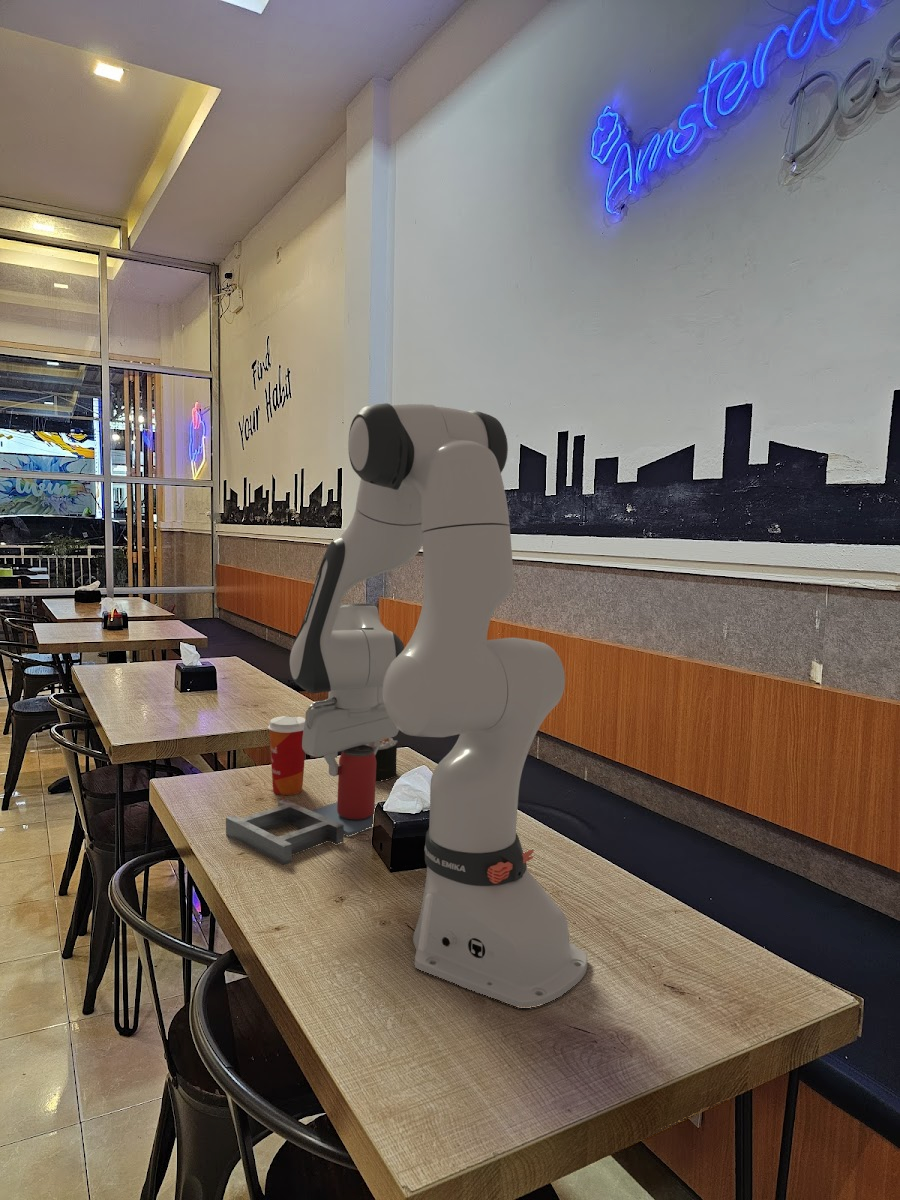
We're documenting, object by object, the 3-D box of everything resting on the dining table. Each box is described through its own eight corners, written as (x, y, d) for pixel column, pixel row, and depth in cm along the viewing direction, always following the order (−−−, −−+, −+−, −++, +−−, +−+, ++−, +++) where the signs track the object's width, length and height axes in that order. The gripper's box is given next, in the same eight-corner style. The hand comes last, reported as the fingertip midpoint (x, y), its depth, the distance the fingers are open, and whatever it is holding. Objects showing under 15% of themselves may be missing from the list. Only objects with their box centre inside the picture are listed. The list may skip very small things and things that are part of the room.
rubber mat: (399, 817, 139) (399, 813, 139) (348, 837, 130) (348, 832, 130) (355, 800, 147) (355, 796, 147) (304, 817, 138) (304, 812, 138)
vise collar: (343, 842, 128) (343, 825, 128) (283, 865, 119) (283, 846, 119) (284, 815, 139) (285, 799, 138) (225, 834, 130) (225, 817, 130)
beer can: (373, 822, 135) (376, 756, 133) (335, 821, 135) (338, 754, 133) (374, 807, 142) (377, 743, 140) (338, 805, 141) (341, 742, 139)
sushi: (372, 765, 167) (372, 729, 167) (403, 773, 163) (404, 736, 162) (347, 775, 161) (348, 738, 160) (379, 784, 156) (380, 746, 155)
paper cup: (273, 782, 155) (273, 714, 154) (311, 784, 155) (312, 715, 154) (262, 796, 148) (262, 724, 146) (302, 798, 147) (303, 726, 146)
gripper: (318, 707, 127) (317, 788, 128) (406, 688, 142) (404, 761, 143) (294, 699, 131) (293, 779, 132) (383, 682, 146) (381, 753, 148)
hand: (352, 769), depth 138 cm, fingers closed on beer can, 6 cm apart
